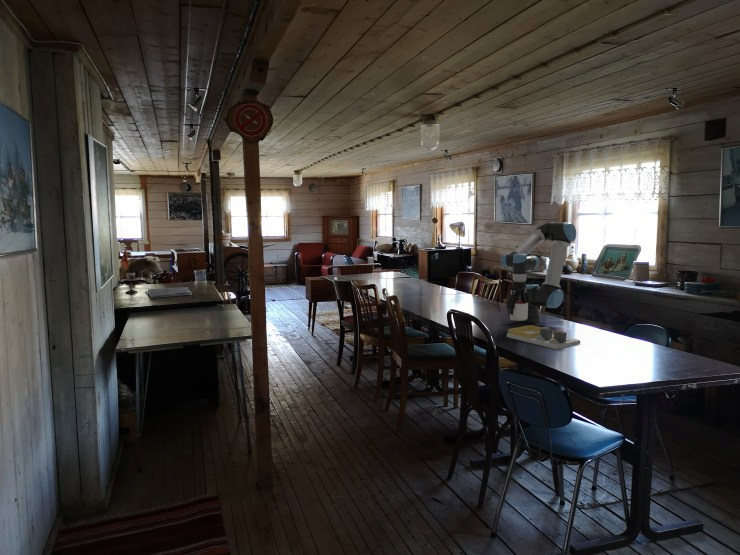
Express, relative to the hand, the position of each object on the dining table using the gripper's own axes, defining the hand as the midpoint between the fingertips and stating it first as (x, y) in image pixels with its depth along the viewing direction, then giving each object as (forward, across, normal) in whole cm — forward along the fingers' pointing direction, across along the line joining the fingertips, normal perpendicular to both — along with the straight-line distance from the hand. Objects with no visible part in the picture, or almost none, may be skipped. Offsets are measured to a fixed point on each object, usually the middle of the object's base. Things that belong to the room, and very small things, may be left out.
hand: (518, 318), depth 306 cm
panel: (+7, +8, +23) cm, 25 cm away
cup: (+1, 0, 0) cm, 1 cm away
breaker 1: (+4, +11, +28) cm, 30 cm away
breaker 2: (+4, +11, +36) cm, 38 cm away
